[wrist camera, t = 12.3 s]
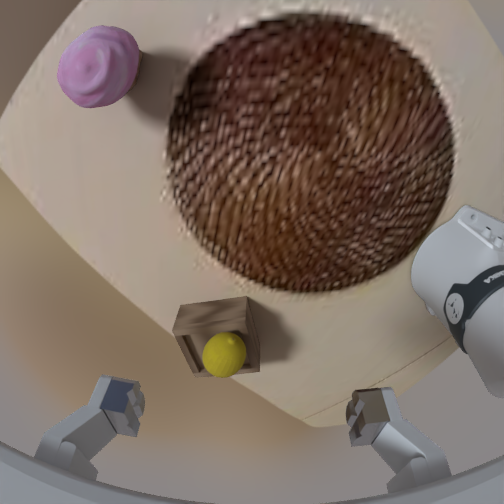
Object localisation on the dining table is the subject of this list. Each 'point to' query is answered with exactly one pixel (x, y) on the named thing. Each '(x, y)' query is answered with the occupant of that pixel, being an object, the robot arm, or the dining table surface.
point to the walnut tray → (216, 331)
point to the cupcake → (99, 66)
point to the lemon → (224, 354)
